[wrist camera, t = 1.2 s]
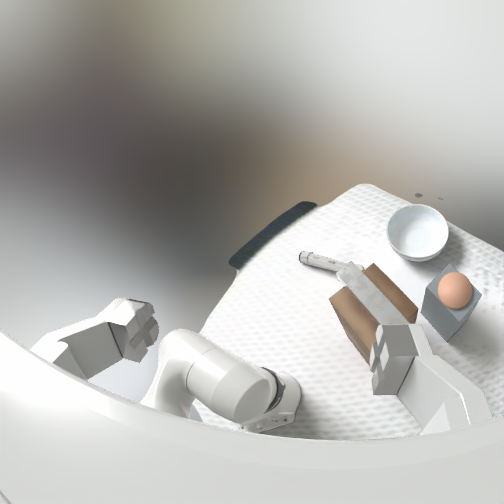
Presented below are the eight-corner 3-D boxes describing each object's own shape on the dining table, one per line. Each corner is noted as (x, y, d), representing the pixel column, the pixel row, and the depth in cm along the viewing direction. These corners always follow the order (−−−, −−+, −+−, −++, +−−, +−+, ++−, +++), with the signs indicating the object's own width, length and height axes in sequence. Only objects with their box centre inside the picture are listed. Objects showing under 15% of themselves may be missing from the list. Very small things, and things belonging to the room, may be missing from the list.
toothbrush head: (303, 247, 92) (368, 261, 74) (311, 258, 96) (373, 273, 78) (295, 259, 91) (361, 276, 72) (304, 270, 95) (366, 288, 76)
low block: (446, 341, 55) (460, 320, 44) (420, 312, 64) (426, 285, 52) (467, 319, 55) (482, 293, 43) (441, 292, 64) (449, 261, 52)
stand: (375, 373, 61) (369, 350, 43) (347, 336, 71) (328, 298, 53) (409, 345, 61) (418, 308, 42) (380, 310, 71) (373, 262, 52)
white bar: (412, 368, 37) (414, 365, 35) (338, 280, 54) (335, 273, 52) (429, 353, 37) (431, 349, 35) (353, 268, 54) (351, 260, 52)
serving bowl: (405, 209, 85) (404, 195, 80) (455, 232, 70) (457, 218, 65) (376, 251, 82) (373, 238, 77) (429, 281, 67) (431, 269, 63)
